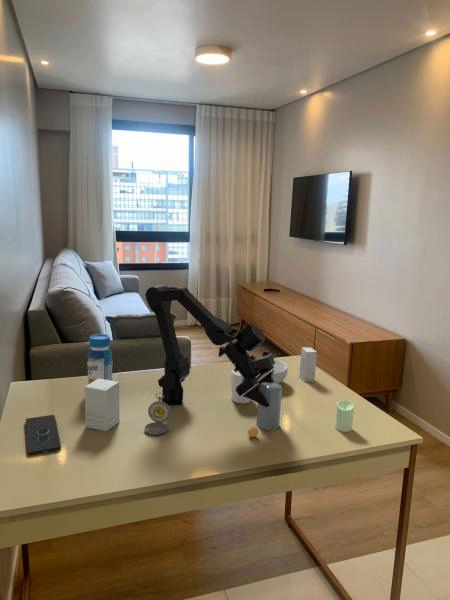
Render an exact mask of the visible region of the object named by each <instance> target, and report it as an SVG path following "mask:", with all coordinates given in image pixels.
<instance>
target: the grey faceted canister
mask: <svg viewBox="0 0 450 600" xmlns="http://www.w3.org/2000/svg"><path fill="white" fill-rule="evenodd" d="M260 390H261V392H262V394H263V395H264V397H265V398H266V400H267V402H268V404H269V406H268V407H264V406H263V405H261V404H259V403H257V411H256V412H257V413H256V425H257V426H258V427H259V429H263V430H266V431H272V430H278V428H279V426H280V419H281V407H282V406H281V405H282V393H283V387H282V385H281V384H280V383H278V384H277V383H273V382H264V383H261V384H260Z"/></svg>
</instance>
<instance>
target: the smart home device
mask: <svg viewBox="0 0 450 600" xmlns="http://www.w3.org/2000/svg"><path fill="white" fill-rule="evenodd" d="M24 428H25V436H26V447H27V449H26V450H27V455H28V457H31V456H32V457H34V456H38V455H45V454H49V453H55V452H60V451H61V450H62V445H61V440H60V439H61V438H60V435H59V431H58V424H57V421H56V416H55V414H50V415H42V416H35V417H28V418H27V417H26V419H25V426H24Z"/></svg>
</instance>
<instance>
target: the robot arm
mask: <svg viewBox="0 0 450 600" xmlns="http://www.w3.org/2000/svg"><path fill="white" fill-rule="evenodd" d="M144 296H145V300H146V302H147V305H148V308H149V309H150V310H151V311H152V313H154V315H155V318H156V322H157V325H158V330H159V334H160V338H161V342H162V345H163V350H164V354H165V360H164V366H163V369H164V375H162V376H161V377H160V378H159V379H158V380H157V383H158V386H159V387H160V388H162V389H161V393H162V394H163V395H164V398H163V395H162V394H161V396H160V397H161V398H162V399H161V401H162V402H165V403H166V404H167V405H168V406H174V405H175V406H176V405H182V404H183V402H182V401H184V387H183V386H182V382H184V381H185V380H186V378H187V377H188V376H189V375H190V373H191V368H192V367H191V365H190V362H189V361H190V359H189V357H188V356H184V355H183V354H182V352H181V350H180V346H179V342H178V339H177V338H178V337H177V333H176V330H175V326H174V322H173V318H172V314H171V307H172V302H173V301H176V302H178V303H179V304H180V305H181V306H182V307H183V308H184V310H186V311H187V312H188V314H190V315H191V316H192V318H194V319H195V320H196V321H197V322H198V323H199V324H200V326H202V328H203V330H204V333H205V335H206V336H207V337H208V339H209V340H210V342H211V343H212V344H213V345H215V346H219V348H218V355H217V356H218V357H219V358H220V357H222V356H223V355H225V356H226V357H227V359H228V360H229V361H230V362H231V363H232V365H233V366H234V368H233V369H234V371H235V372H236V371H239V373H240V374H241V375H242V377H243V378H244V379H243V380H242V381H243V382H242V383H241V384H239V385H238V386H237V387H236V392H237V394H238V395H239V396H241V395H243V394H244V393H245V394H244V395H243V397H246V398H249V399H251V401H253V402H255V403H256V404H258V403H259V404H261V405H263V406H264V407H268V406H269V404H268V402H267V400H266V398H265V397H264V395H263V394H262V392H261V390H260V384H261V383H264V382H273V383H274V380H273V372H274V370H272V369H273V368H274V366H273V365H274V364H275V361H274V360H275V358H276V356H275V355H274V354H273V352H271V351H270V350H266V351H265V350H264V352H262V355H261V356H259V357H256V356H255V355H254V354H252V355H250V354H249V353H248V352H252V351H253V350H255V349H256V348H257V347H259V346H260V345H261V344H262V343H263V342H265V341H266V335H265V333H264V331H263V330H262V329H261V328H259V327H258V326H256V325H254V324H253V322H250V323H248V324H247V325H245V327H244V328H243V329H242V330H240V329H237V328H233V326H231V325H230V324H229V323H228V322H226V321H225V320H223V319H222V318H221V319H220V318H219V317H216V316H215V315H213V313H212V312H211V311H210V310H209V309H207V308H206V306H204V305H203V304H202V302H200V300H198V298H196V297H195V296H194V294H192V292H190V290H189V288H187V287H185V286H181V287H178V286H177V287H176V286H170V287H169V286H167V285H166V284H159V285H154V286H150V287H149V288H148V289H147V290H146V292H145V295H144ZM235 340H236V341H235ZM233 341H235V342H233ZM225 344H226V345H225ZM223 345H225V346H223ZM271 370H272V371H271ZM270 371H271V372H270ZM259 379H260V380H259ZM257 380H259V381H257ZM257 383H258V384H257Z"/></svg>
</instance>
